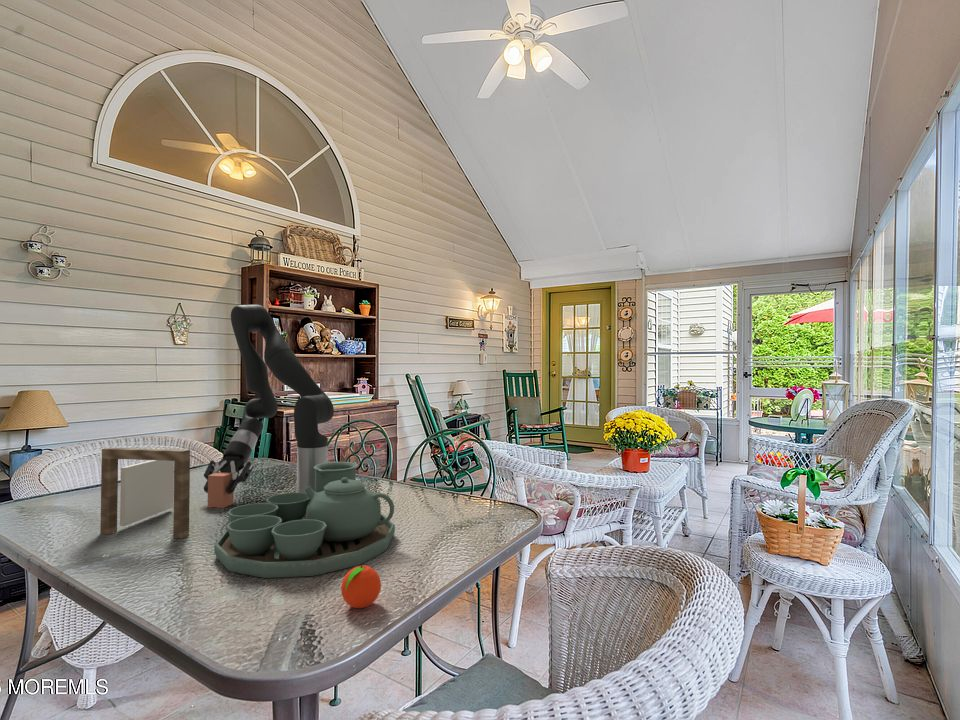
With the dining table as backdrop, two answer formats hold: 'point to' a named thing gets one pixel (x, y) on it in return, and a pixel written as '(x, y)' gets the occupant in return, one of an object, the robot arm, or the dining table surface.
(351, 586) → the clementine
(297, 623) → the dining table surface
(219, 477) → the salmon orange block
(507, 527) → the dining table surface
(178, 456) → the door frame
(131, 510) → the door
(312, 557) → the tea set
